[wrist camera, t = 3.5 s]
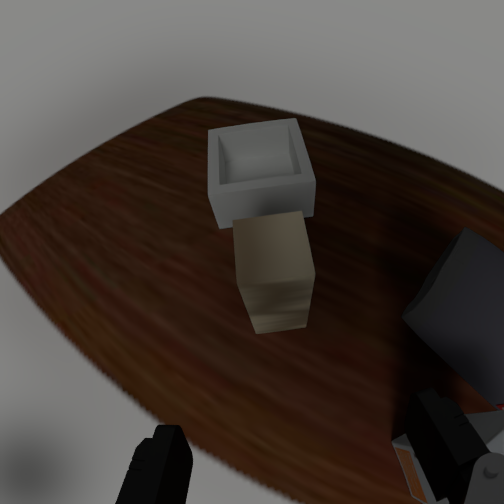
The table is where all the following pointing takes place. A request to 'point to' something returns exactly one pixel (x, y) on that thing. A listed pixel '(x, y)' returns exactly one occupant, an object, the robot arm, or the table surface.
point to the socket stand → (259, 171)
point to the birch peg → (274, 270)
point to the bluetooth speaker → (465, 313)
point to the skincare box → (487, 426)
